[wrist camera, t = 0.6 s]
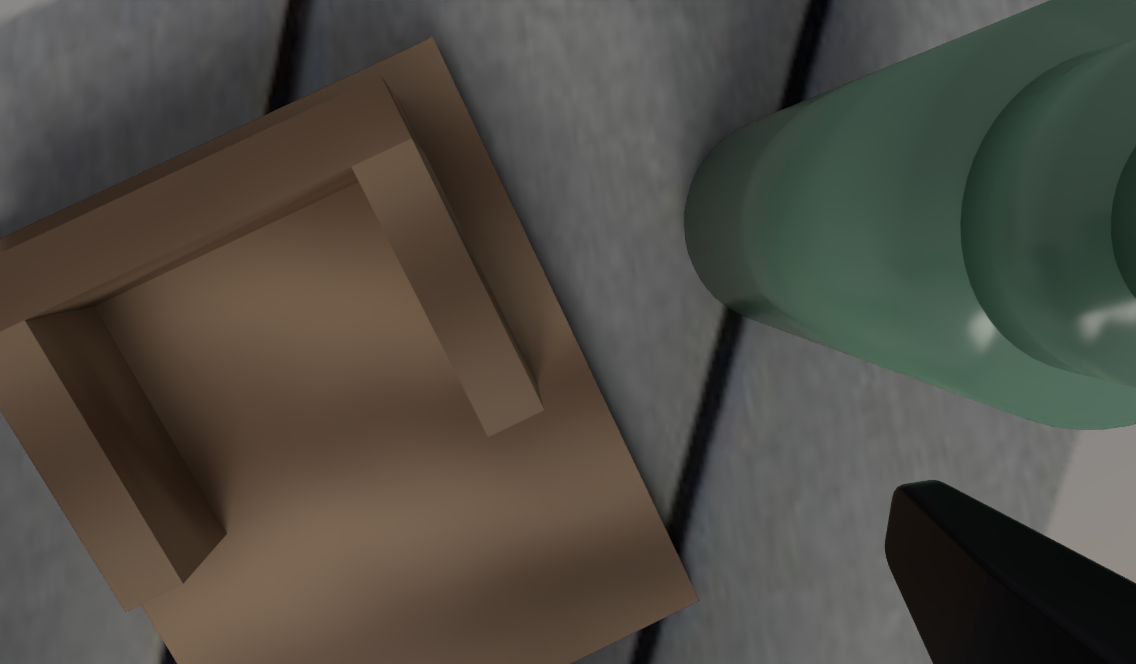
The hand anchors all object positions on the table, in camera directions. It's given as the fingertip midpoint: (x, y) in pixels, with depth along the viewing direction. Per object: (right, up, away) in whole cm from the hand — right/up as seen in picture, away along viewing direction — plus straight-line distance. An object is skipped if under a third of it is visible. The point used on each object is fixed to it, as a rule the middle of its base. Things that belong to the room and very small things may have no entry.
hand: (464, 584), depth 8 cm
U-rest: (-5, -1, +14) cm, 15 cm away
